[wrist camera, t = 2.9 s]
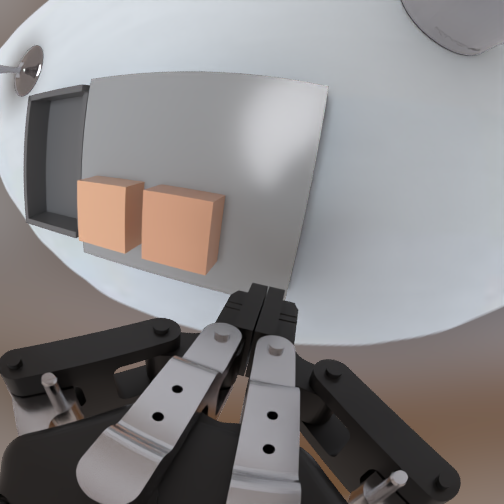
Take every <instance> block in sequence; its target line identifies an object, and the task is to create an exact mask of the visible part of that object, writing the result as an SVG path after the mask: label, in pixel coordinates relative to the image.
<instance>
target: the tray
mask: <svg viewBox="0 0 504 504" xmlns="http://www.w3.org/2000/svg"><path fill="white" fill-rule="evenodd" d="M89 89H90V86H89V85H78V86H72V87H67V88H62V89H57V90H52V91H48V92H43V93H39V94H35V95H31V96H29V99H28V107H27V116H26V127H25V141H24V199H25V213H26V223H29V224H32V225H35V226H38V227H41V228H45V229H48V230H51V231H54V232H57V233H61V234H64V235H67V236H70V237H74V238H77V237H79V232H78V210H77V180H81V178H82V153H83V139H84V128H85V118H86V110H87V102H88V96H89Z"/></svg>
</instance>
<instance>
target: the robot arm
mask: <svg viewBox="0 0 504 504" xmlns="http://www.w3.org/2000/svg"><path fill="white" fill-rule="evenodd" d="M402 3H403V5H404V7H405V9H406V11H407V12H408V14H409V15H410V17H411V18H412V20H413V21H414V22H415V23H416V24H417V25H418V27H419V28H420V29H421V30H422V31H423V32H424V33H426V34H427V35H428V36H429V37H430V38H431V39H433V40H434V41H436V42H437V43H438V44H440V45H441V46H443V47H445V48H447V49H449V50H451V51H453V52H456V53H459V54H463V55H477V54H480V53H482V52H484V51H487V50H489V49H491V48H493V47H495V46H498V45H500V44H502V43H504V0H402ZM267 291H268V292H267ZM284 293H285V290H284V289H279V288H275V287H270V286H269V289H268V286H266V285H261V284H257V283H252V285H251V287H250V289H249V291H248V292H244V291H240V290H238V291H236V292H235V293H233V294H231V296H230V297H229V299H228V301H227V303H226V305H225V307H224V308H223V310H222V312H221V313H220V315H219V317H218V319H217V321H216V322H215V323H212V324H210V325H208V326H206V327H205V328H204V329H203V331H202V332H201V333H182V332H181V329H180V326H179V325H178V324H177V323H176V322H174V321H172V320H170V319H166V318H155V319H150V320H146V321H143V322H139V323H135V324H130V325H126V326H122V327H118V328H113V329H109V330H105V331H101V332H96V333H92V334H87V335H83V336H78V337H74V338H69V339H64V340H59V341H55V342H51V343H45V344H40V345H35V346H30V347H24V348H20V349H14V350H10V351H8V352H6V353H5V354H4V355H3V356H2V357H1V358H0V374H1V376H2V378H3V380H4V382H5V384H6V385H7V389H8V391H9V392H10V394H11V396H12V401H13V408H14V414H15V420H16V426H17V430H18V435H19V437H17V438H16V439H14V440H13V441H12V442H11V443H10V444H9V445H8V447H7V448H6V450H5V452H4V454H3V457H2V464H1V472H0V504H445V503H446V502H448V501H449V500H451V499H452V498H453V497H455V496H456V494H457V493H458V491H459V489H460V477H459V474H458V473H457V471H456V470H455V469H454V468H453V467H452V466H451V465H450V464H449V463H448V462H447V461H446V460H444V459H443V458H442V457H441V456H440V455H439V454H438V453H437V452H436V451H435V450H434V449H433V448H432V447H430V446H429V445H428V444H427V443H426V442H425V441H424V440H423V439H422V438H421V437H420V436H419V435H418V434H417V433H416V432H415V431H414V430H412V429H411V428H410V427H409V426H408V425H407V424H406V423H405V422H404V421H403V420H402V419H401V418H400V417H399V416H398V415H397V414H396V413H395V412H393V410H391V409H390V408H389V407H388V406H387V405H386V404H385V403H384V402H383V401H382V400H381V399H380V398H379V397H378V396H377V395H376V394H375V393H374V392H373V391H371V390H370V388H369V387H367V385H366V384H364V383H363V382H362V381H361V380H360V379H359V378H358V377H357V376H356V375H355V374H354V373H353V372H352V371H351V370H350V369H349V368H348V367H347V366H346V365H344V364H343V363H341V362H339V361H335V360H329V359H326V360H321V361H319V362H317V363H316V364H315V365H314V364H312V363H310V362H307V361H306V360H304V359H302V358H301V357H300V356H299V355H298V354H297V353H296V351H295V347H294V341H295V333H296V323H297V316H298V309H297V307H296V305H295V303H292V302H288V301H283V298H284ZM143 360H145V362H146V365H144V366H140V367H137V368H134V369H130V370H127V371H123V372H120V373H116V374H114V372H115V371H116V369H118V368H120V367H122V366H126V365H129V364H133V363H136V362H140V361H143ZM247 364H248V366H247ZM246 367H247V371H246V375H245V376H246V377H249V380H248V384H247V388H246V393H245V398H244V403H243V408H242V413H241V418H240V422H239V424H237V423H236V424H235V423H222V422H219V421H217V419H218V417H219V415H220V413H221V411H222V409H223V407H224V405H225V403H226V401H227V399H228V397H229V395H230V392H231V391H232V388H233V384H234V383H235V381H236V378H237V375H241V376H244V373H245V370H246ZM337 417H338V418H337ZM345 426H346V427H345ZM300 432H301V433H302V434H303V436H304V437H305V438H306V440H307V441H308V442H309V444H310V445H311V446H312V447H313V448H314V450H315V451H316V452H317V454H318V455H319V456H320V457H321V459H322V460H323V461H324V462H325V464H326V465H327V466H328V467H329V469H330V470H331V471H332V472H333V473H334V475H335V476H336V477H337V478H338V479H339V480H340V482H341V483H342V484H343V485H344V486H345V488H346V489H347V490H348V491H349V492H350V493H351V494H350V496H349V500H348V503H347V501H346V500H345V499H344V498H343V496H342V495H341V494H340V492H338V490H337V489H336V487H335V486H334V485H333V483H332V482H331V481H330V480H329V478H328V477H327V476H326V474H325V473H324V471H323V470H322V469H321V467H320V466H319V465H318V464H317V462H316V461H315V459H314V458H313V457H312V456H311V455H310V454H309V453H308V452H306V451H305V450H304V449H303V448H301V447H300V446H299V436H300V435H299V434H300Z"/></svg>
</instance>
